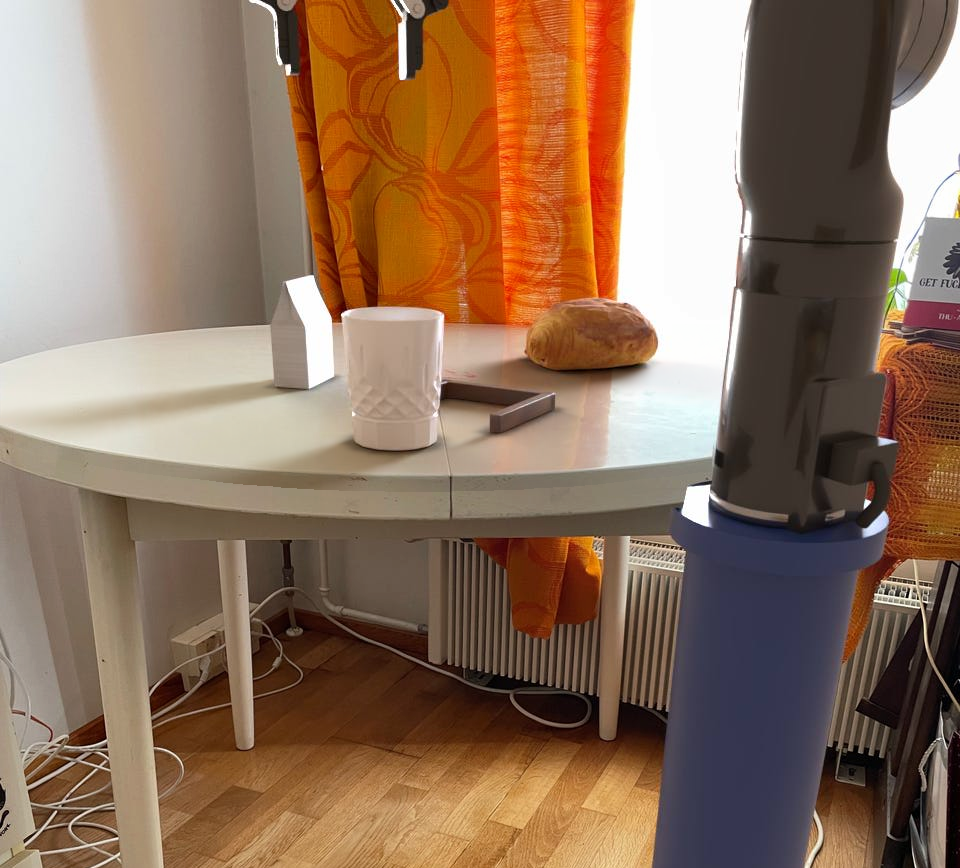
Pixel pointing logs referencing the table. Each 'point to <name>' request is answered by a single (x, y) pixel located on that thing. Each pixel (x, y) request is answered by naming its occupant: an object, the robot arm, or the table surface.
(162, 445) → the table surface
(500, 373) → the table surface
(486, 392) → the bay
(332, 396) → the table surface
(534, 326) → the bread loaf
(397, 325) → the white cup
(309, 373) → the white milk carton
